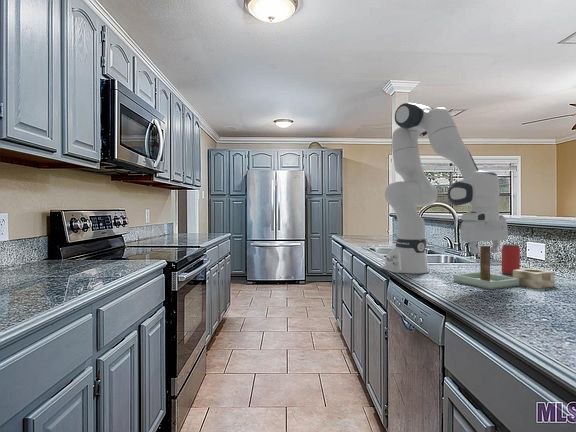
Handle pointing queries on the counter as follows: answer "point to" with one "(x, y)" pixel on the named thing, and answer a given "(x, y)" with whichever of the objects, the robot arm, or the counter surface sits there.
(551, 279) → the socket block
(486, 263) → the walnut peg
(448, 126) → the robot arm
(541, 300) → the counter surface
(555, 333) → the counter surface
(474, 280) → the tray
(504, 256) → the beer can
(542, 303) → the counter surface
